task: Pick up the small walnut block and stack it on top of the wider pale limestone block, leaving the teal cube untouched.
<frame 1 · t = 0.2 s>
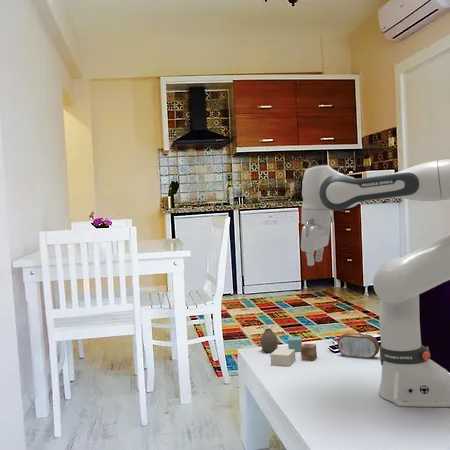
hand: (314, 263, 157), 39 cm above the table, tool pointing down, fingers open, 8 cm apart
vase: (269, 351, 202), on the table
walnut block: (309, 359, 188), on the table
tin: (358, 357, 185), on the table
limestone block: (283, 362, 186), on the table
teal cube: (295, 350, 199), on the table
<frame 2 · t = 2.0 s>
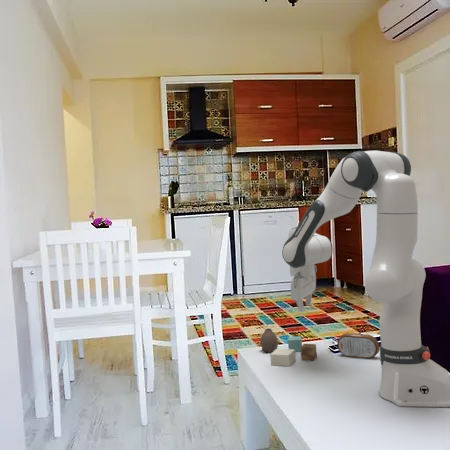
hand: (305, 307, 187), 19 cm above the table, tool pointing down, fingers open, 8 cm apart
nothing on the table moved.
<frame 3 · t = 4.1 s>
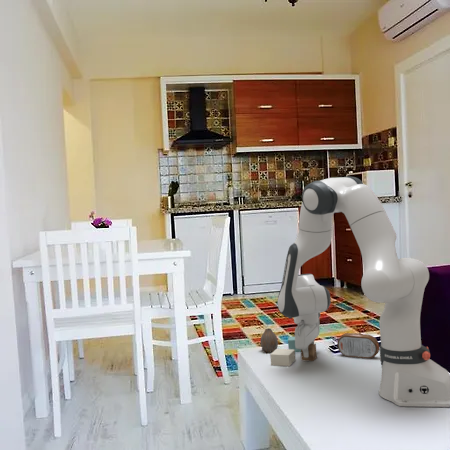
hand: (308, 354, 188), 2 cm above the table, tool pointing down, fingers closed on walnut block, 4 cm apart
walnut block: (309, 358, 188), on the table, touching gripper
everything else where it was.
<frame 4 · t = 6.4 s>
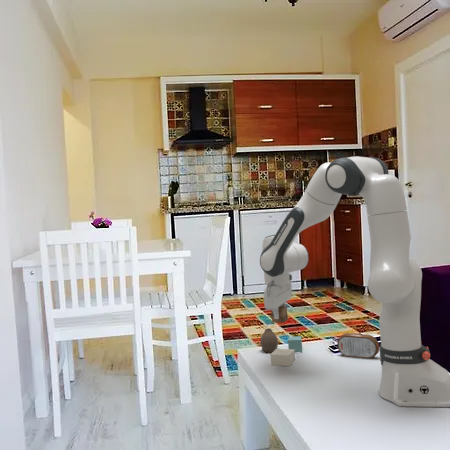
hand: (279, 316, 185), 17 cm above the table, tool pointing down, fingers closed on walnut block, 4 cm apart
walnut block: (280, 321, 185), point 15 cm above the table, touching gripper
everything else where it was.
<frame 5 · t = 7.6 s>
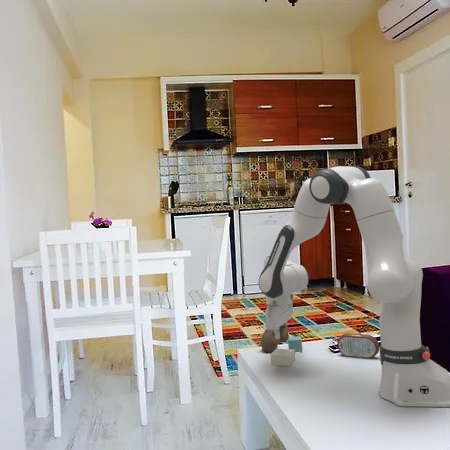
hand: (280, 336, 185), 10 cm above the table, tool pointing down, fingers closed on walnut block, 4 cm apart
walnut block: (281, 340, 185), point 8 cm above the table, touching gripper
everything else where it was.
when the fingers open (7 cm above the table, at t = 8.5 s): walnut block drops 1 cm, resting on limestone block.
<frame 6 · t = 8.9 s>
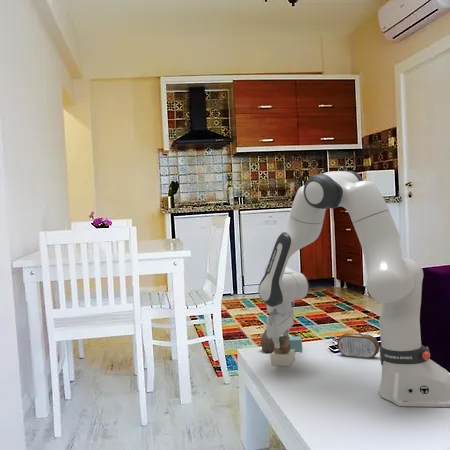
hand: (282, 344, 185), 7 cm above the table, tool pointing down, fingers open, 8 cm apart
walnut block: (282, 351, 185), point 4 cm above the table, touching limestone block
everything else where it was.
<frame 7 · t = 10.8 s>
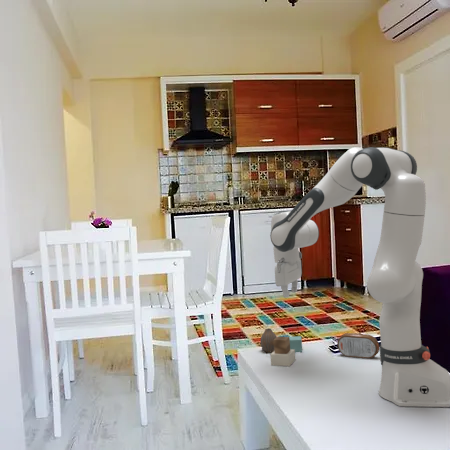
hand: (290, 294, 183), 25 cm above the table, tool pointing down, fingers open, 8 cm apart
nothing on the table moved.
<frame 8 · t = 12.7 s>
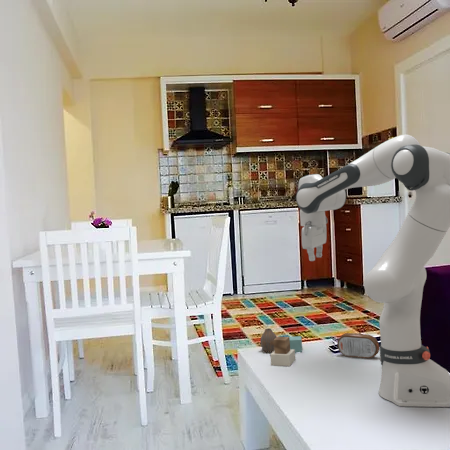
hand: (315, 259, 182), 37 cm above the table, tool pointing down, fingers open, 8 cm apart
nothing on the table moved.
at the end: walnut block 0.0 cm from the limestone block (horizontally); walnut block point 4.0 cm above the table; walnut block tilted 0° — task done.
